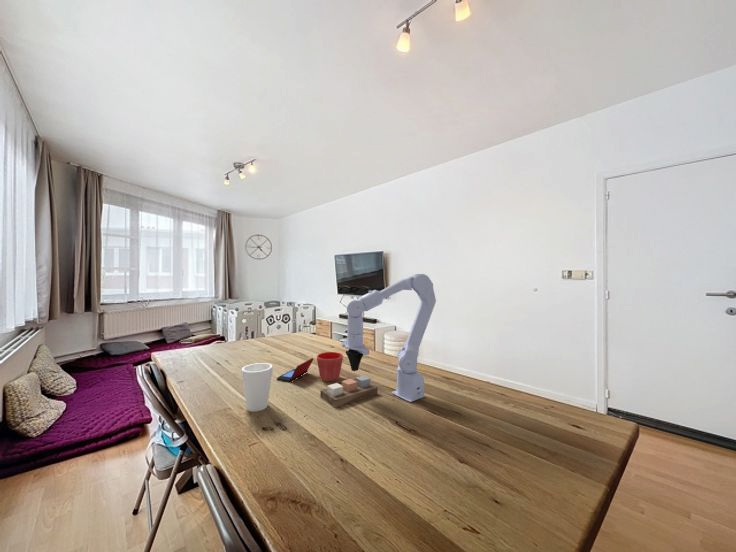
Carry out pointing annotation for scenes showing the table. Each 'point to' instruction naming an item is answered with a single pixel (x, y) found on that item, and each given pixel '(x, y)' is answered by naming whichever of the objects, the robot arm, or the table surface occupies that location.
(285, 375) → the handheld game console
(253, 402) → the foam cup
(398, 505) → the table surface
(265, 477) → the table surface
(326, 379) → the flower pot
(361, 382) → the slate key
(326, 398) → the key frame
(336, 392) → the ivory key
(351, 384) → the terracotta key
